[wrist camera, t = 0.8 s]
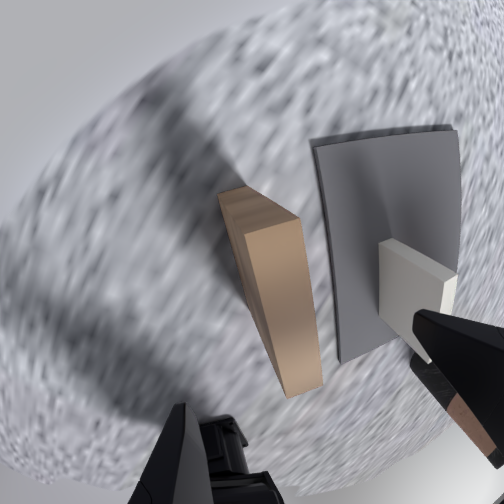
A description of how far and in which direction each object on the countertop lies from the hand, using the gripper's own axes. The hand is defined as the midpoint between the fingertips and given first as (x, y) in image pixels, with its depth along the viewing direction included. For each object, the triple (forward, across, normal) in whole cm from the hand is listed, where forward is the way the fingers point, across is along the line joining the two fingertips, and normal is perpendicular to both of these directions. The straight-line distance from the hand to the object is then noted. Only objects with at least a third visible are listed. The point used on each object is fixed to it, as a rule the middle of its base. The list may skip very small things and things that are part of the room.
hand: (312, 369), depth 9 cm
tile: (+11, -11, +6) cm, 17 cm away
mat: (+11, -14, +4) cm, 19 cm away
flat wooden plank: (+11, 0, 0) cm, 11 cm away
